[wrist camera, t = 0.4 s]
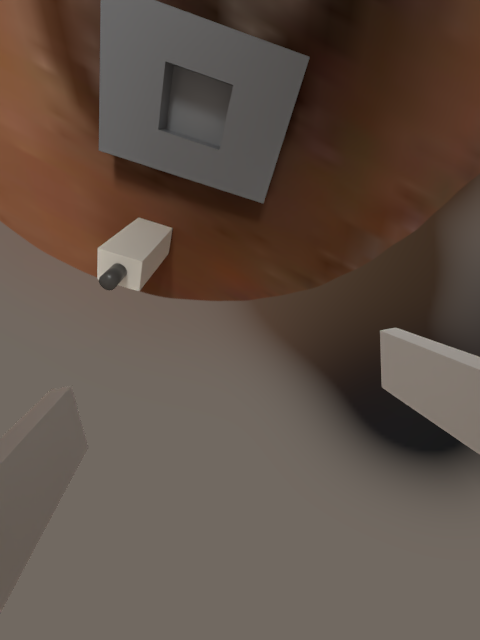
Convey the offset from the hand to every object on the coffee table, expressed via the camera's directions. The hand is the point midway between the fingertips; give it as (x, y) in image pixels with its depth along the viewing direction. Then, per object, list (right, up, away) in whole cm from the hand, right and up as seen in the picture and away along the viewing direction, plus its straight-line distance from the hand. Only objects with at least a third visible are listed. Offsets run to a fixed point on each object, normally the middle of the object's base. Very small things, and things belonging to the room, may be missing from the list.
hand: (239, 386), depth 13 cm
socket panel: (-4, +27, +23) cm, 36 cm away
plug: (-13, +15, +32) cm, 37 cm away
